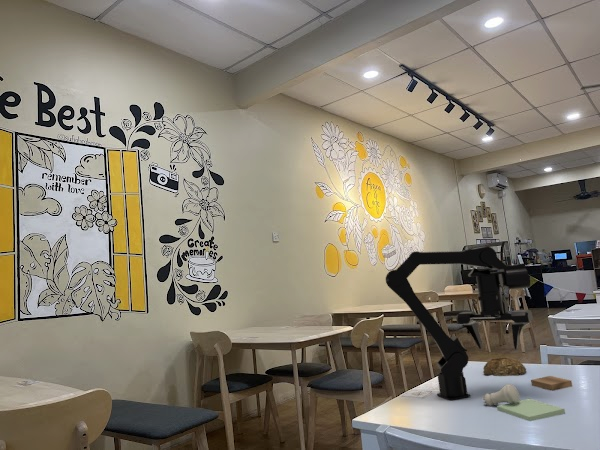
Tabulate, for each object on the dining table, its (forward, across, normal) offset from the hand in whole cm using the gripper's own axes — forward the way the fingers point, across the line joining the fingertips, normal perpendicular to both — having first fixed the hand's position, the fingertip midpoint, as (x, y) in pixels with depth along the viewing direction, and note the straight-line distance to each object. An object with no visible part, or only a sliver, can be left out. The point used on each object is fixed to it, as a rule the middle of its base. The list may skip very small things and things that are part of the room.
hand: (498, 348), depth 120 cm
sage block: (+13, -9, +14) cm, 21 cm away
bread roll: (+13, +7, -26) cm, 29 cm away
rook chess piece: (+8, -6, +12) cm, 16 cm away
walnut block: (+12, -9, -12) cm, 20 cm away
